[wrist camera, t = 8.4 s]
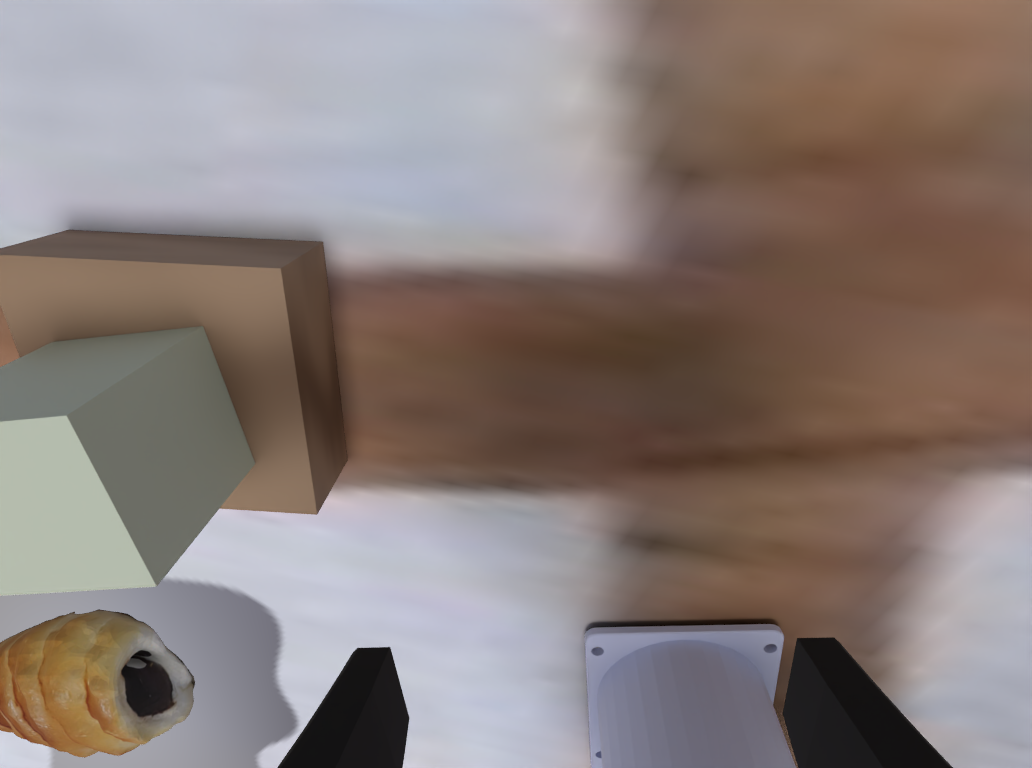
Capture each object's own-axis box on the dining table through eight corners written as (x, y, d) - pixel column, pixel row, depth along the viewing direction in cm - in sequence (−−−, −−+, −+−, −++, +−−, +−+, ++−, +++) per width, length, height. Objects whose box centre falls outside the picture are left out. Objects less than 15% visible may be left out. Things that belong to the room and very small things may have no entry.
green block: (255, 463, 18) (156, 586, 13) (119, 474, 18) (-21, 597, 14) (203, 326, 16) (66, 415, 11) (52, 341, 16) (-137, 434, 12)
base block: (350, 454, 22) (317, 514, 19) (141, 441, 22) (73, 499, 19) (327, 238, 18) (280, 268, 15) (77, 227, 18) (-19, 253, 15)
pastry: (48, 712, 29) (-18, 793, 26) (-34, 617, 27) (-121, 693, 23) (214, 693, 28) (168, 775, 25) (146, 590, 25) (83, 667, 22)
